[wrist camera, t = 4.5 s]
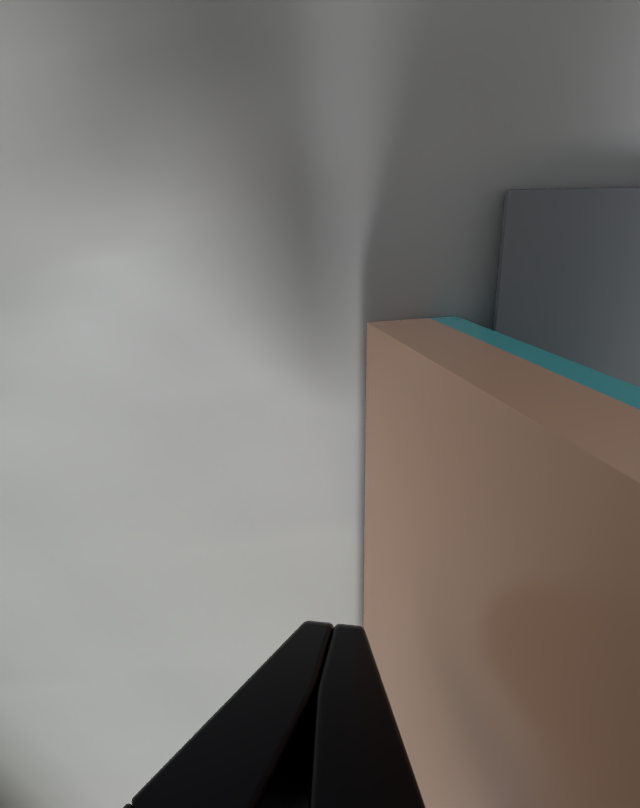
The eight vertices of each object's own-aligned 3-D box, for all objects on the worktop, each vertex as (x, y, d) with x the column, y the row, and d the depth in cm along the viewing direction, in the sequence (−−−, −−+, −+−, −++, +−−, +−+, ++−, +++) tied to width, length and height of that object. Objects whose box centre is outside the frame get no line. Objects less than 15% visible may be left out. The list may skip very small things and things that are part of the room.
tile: (456, 316, 10) (1015, 533, 3) (432, 680, 12) (717, 1184, 6) (366, 322, 9) (807, 579, 3) (362, 696, 12) (587, 1251, 6)
